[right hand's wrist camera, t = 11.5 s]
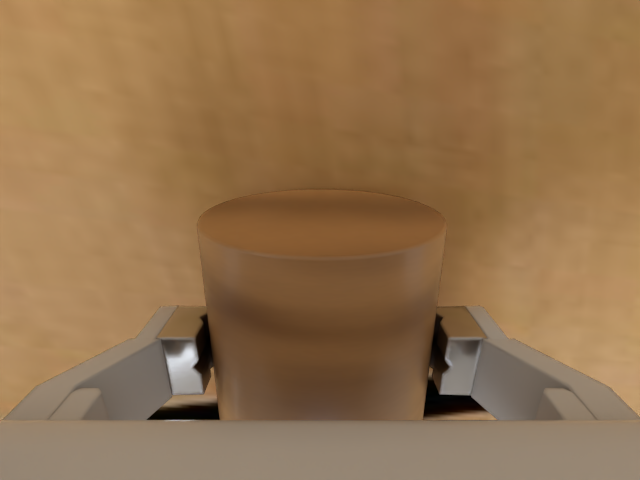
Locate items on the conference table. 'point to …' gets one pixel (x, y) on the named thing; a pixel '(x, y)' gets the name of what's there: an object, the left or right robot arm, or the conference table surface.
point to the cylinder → (321, 304)
